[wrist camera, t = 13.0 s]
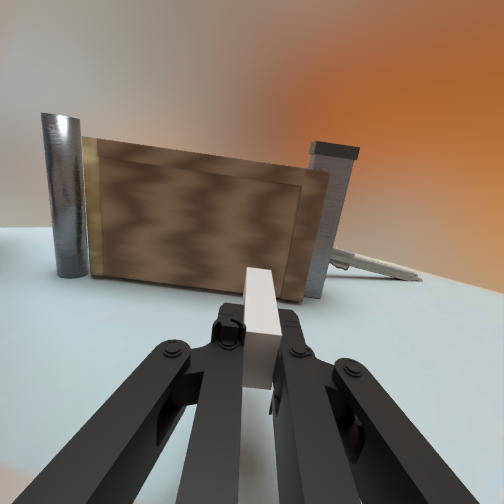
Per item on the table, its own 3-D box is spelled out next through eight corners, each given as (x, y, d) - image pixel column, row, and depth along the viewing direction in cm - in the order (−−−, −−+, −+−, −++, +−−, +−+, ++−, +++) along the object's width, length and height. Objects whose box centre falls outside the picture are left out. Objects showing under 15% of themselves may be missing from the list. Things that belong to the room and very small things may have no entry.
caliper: (301, 278, 39) (310, 235, 37) (298, 275, 40) (307, 233, 38) (421, 283, 44) (435, 245, 42) (416, 280, 45) (429, 242, 43)
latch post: (286, 294, 33) (316, 141, 27) (283, 284, 35) (311, 142, 30) (322, 299, 33) (359, 147, 27) (317, 289, 36) (350, 148, 30)
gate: (86, 274, 30) (77, 135, 25) (96, 267, 32) (89, 137, 27) (302, 301, 31) (330, 172, 26) (299, 293, 33) (325, 171, 28)
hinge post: (50, 276, 29) (32, 111, 24) (68, 265, 32) (55, 116, 27) (78, 279, 29) (66, 116, 24) (94, 269, 32) (86, 120, 27)
